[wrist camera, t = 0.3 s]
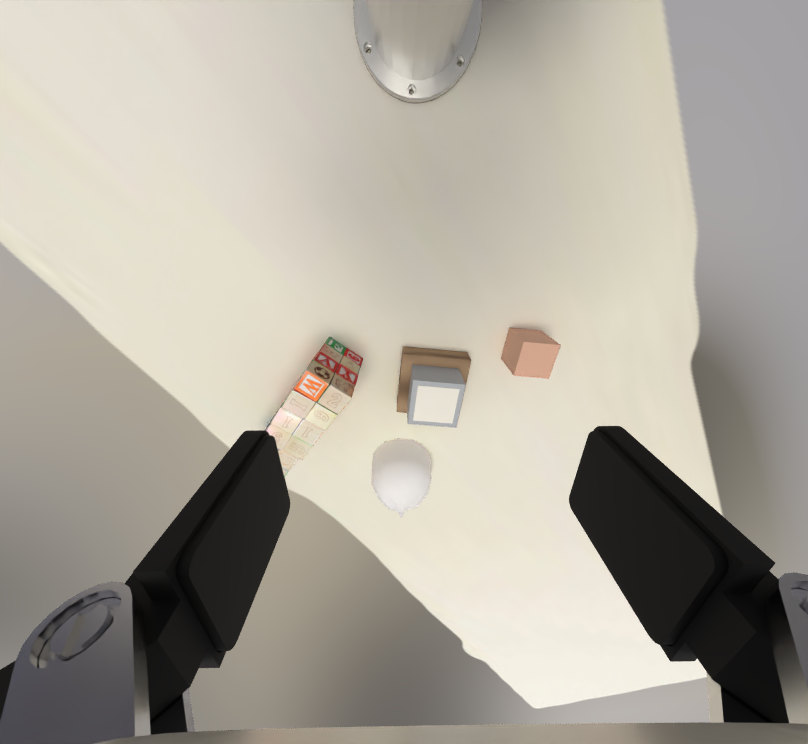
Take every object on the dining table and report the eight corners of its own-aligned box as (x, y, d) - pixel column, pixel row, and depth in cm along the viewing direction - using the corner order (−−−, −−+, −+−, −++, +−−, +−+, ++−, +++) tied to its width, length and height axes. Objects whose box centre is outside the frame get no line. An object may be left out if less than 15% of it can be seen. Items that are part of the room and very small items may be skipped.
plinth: (402, 346, 46) (402, 354, 43) (467, 352, 46) (471, 360, 43) (397, 401, 50) (396, 411, 47) (455, 406, 50) (458, 417, 48)
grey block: (412, 364, 44) (413, 380, 39) (459, 368, 44) (465, 385, 39) (407, 404, 47) (407, 424, 42) (451, 408, 47) (456, 428, 42)
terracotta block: (509, 327, 44) (523, 341, 39) (541, 330, 45) (560, 345, 39) (500, 358, 47) (513, 375, 41) (531, 361, 47) (548, 378, 42)
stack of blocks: (298, 444, 54) (271, 500, 43) (266, 427, 52) (229, 481, 41) (364, 357, 47) (352, 398, 36) (329, 334, 45) (305, 370, 34)
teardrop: (375, 484, 58) (370, 543, 48) (368, 440, 54) (359, 494, 43) (432, 480, 58) (439, 539, 47) (429, 435, 53) (436, 488, 42)
